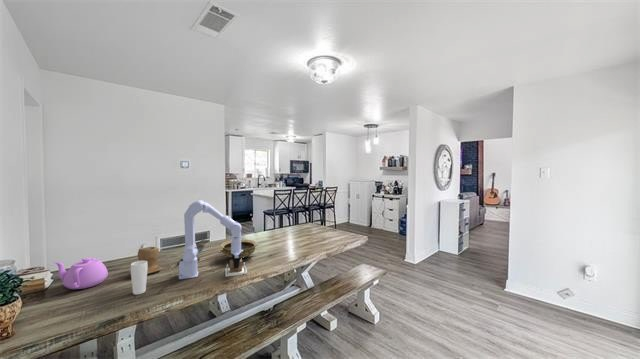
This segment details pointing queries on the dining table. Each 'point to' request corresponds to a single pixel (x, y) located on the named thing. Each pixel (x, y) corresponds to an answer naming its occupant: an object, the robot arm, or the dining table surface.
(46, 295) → the dining table surface
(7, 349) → the dining table surface
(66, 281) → the teapot
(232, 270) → the walnut block
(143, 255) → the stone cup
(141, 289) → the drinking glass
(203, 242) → the bird figurine
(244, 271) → the standoff plate
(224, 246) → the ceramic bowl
